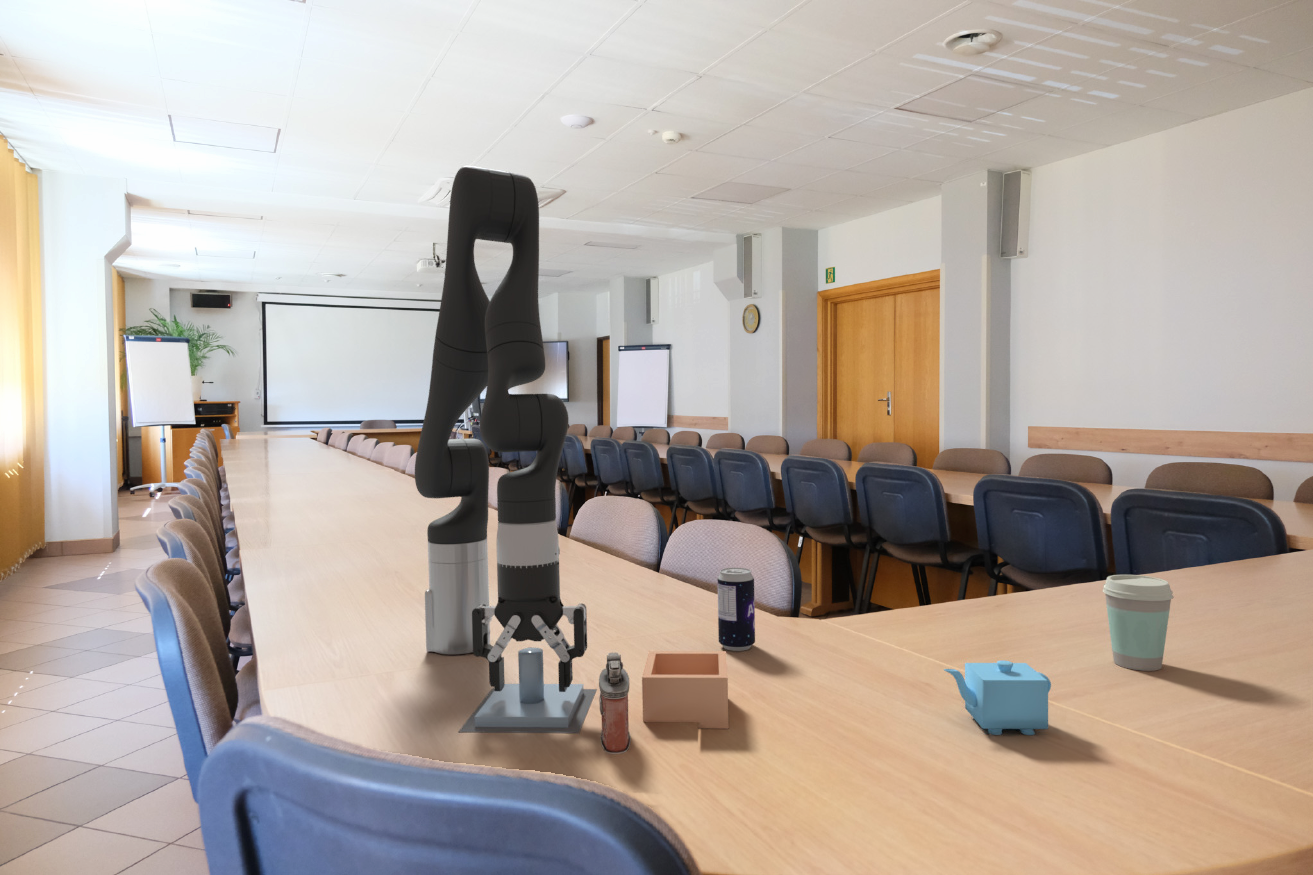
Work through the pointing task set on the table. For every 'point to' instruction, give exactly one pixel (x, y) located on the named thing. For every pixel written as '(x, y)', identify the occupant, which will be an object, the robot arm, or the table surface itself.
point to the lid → (530, 699)
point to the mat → (573, 727)
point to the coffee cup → (1138, 620)
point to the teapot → (1005, 696)
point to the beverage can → (736, 609)
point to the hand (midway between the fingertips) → (531, 689)
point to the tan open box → (686, 688)
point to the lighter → (614, 706)
